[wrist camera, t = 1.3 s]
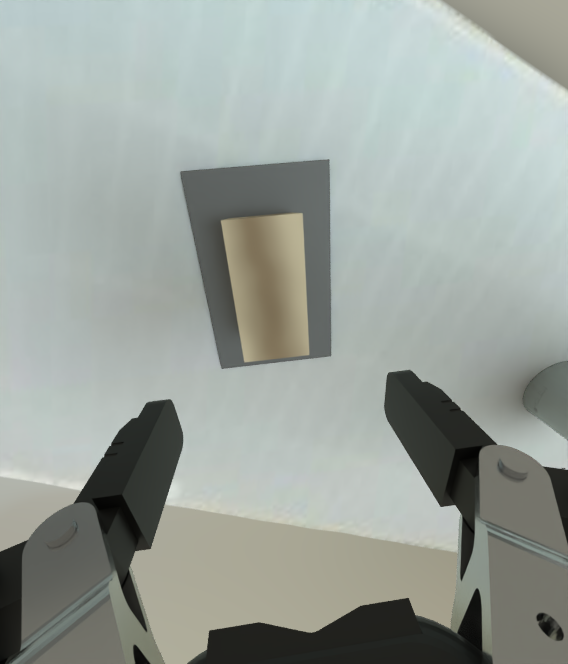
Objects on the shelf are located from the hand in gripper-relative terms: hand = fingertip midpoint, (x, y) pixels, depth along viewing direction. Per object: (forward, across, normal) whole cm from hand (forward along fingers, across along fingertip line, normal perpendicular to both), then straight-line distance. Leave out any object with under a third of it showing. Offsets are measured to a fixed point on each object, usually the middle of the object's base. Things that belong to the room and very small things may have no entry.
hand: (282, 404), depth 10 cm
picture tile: (+20, 0, 0) cm, 20 cm away
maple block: (+19, 0, 0) cm, 19 cm away
